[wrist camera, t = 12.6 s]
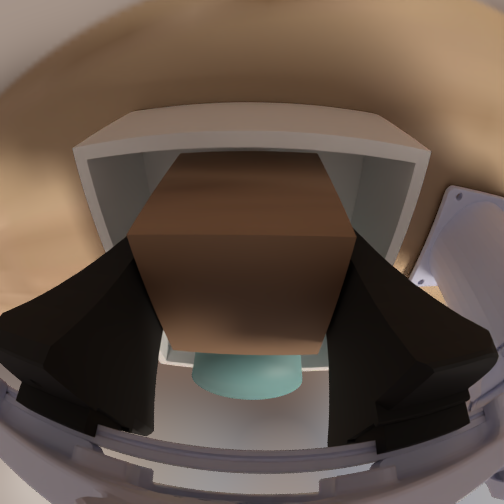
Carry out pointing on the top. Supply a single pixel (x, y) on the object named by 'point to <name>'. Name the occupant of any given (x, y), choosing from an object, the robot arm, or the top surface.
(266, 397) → the teal cylinder
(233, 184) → the walnut cube
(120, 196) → the tote
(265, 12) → the top surface
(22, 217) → the top surface
